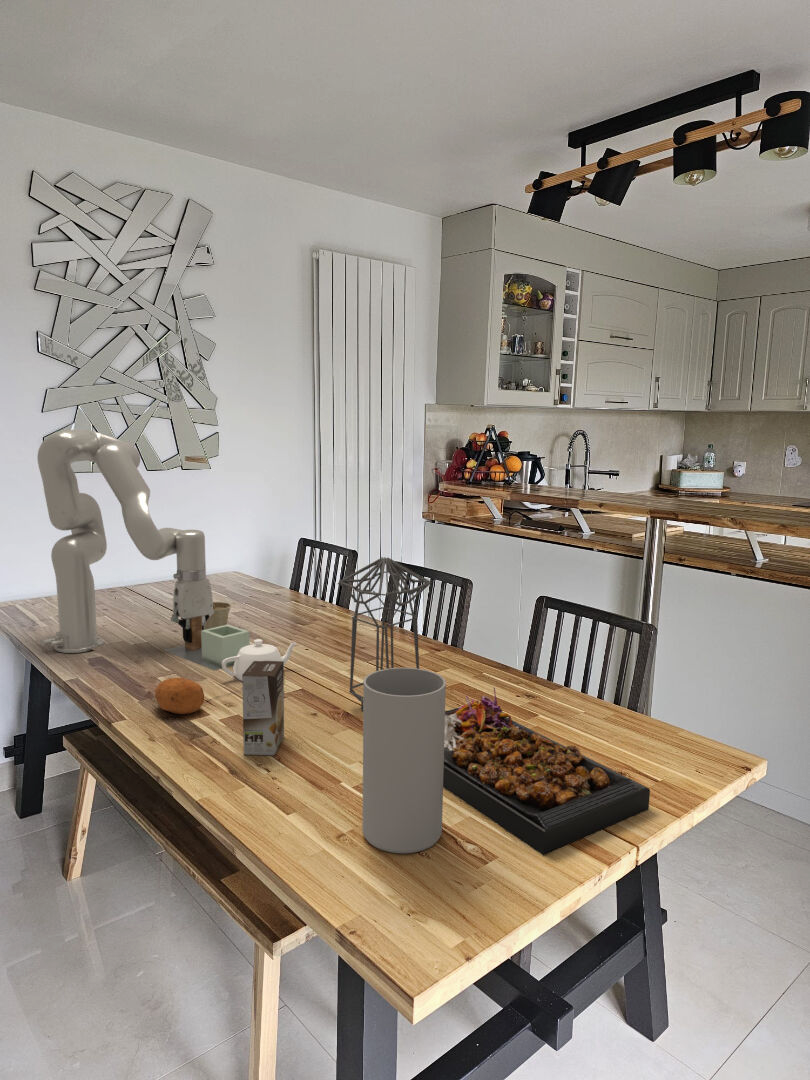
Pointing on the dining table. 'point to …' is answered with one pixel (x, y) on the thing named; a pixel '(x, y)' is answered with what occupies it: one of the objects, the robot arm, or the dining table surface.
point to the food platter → (532, 779)
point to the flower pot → (218, 615)
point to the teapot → (254, 657)
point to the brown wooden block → (195, 633)
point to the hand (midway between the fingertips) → (193, 639)
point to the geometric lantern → (399, 574)
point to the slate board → (192, 656)
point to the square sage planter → (223, 643)
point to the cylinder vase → (403, 758)
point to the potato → (179, 695)
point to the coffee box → (263, 707)
